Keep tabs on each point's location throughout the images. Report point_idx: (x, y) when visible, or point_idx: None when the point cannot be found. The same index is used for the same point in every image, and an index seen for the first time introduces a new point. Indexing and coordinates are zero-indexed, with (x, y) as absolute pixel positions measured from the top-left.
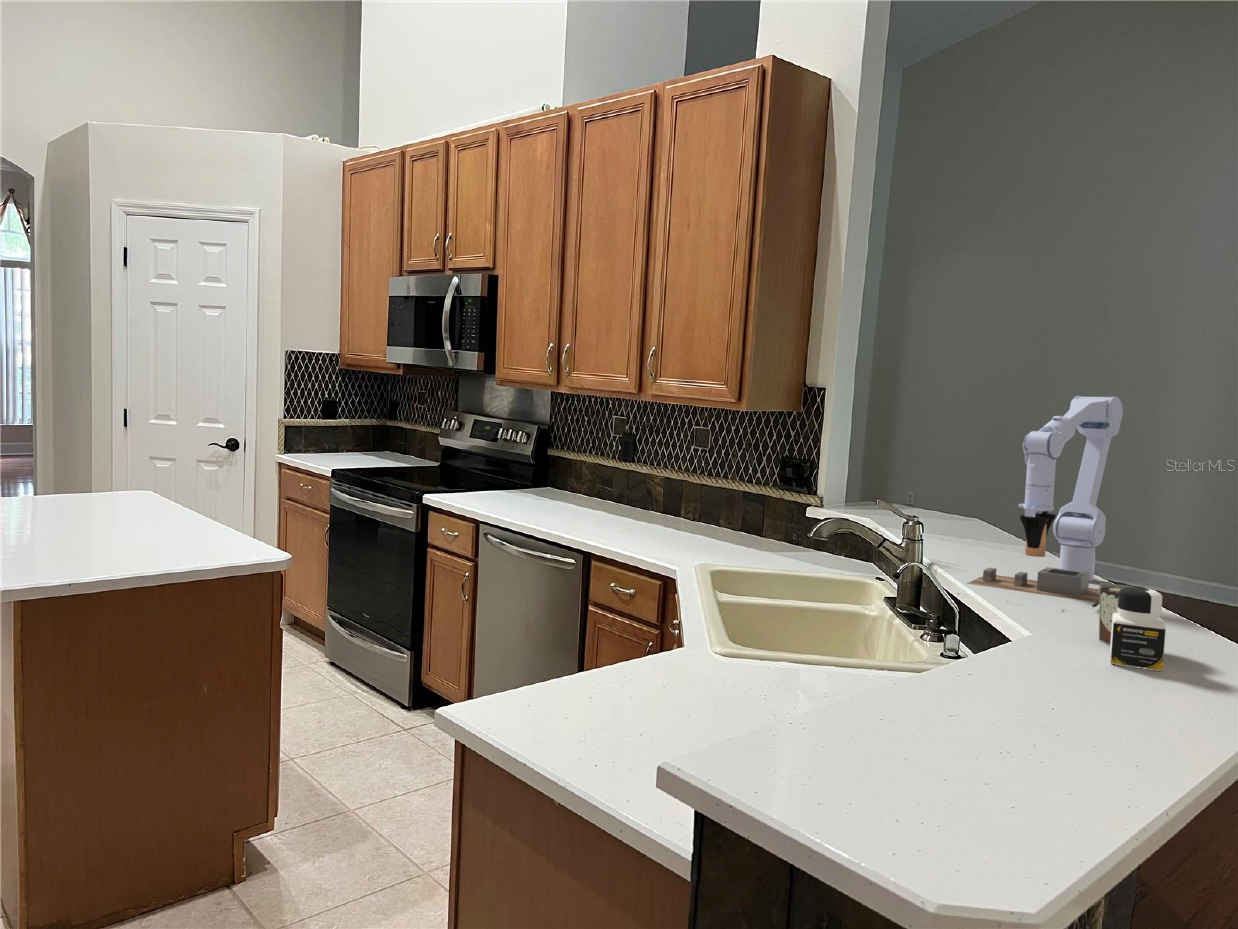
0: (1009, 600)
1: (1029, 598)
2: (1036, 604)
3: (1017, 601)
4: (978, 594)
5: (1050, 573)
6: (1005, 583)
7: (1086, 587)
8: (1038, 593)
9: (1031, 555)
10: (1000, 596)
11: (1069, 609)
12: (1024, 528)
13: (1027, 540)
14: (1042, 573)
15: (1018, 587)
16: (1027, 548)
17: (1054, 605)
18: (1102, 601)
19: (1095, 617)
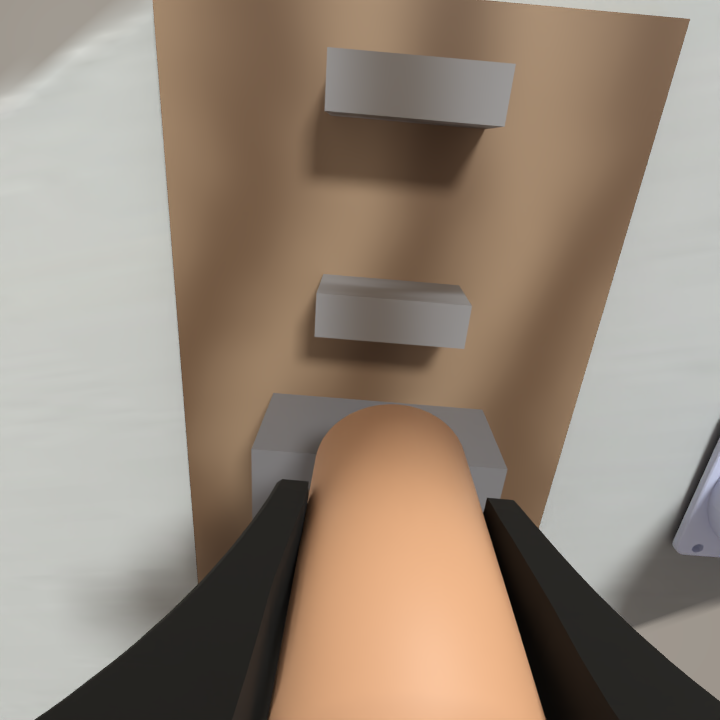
0: (13, 296)
1: (157, 367)
2: (41, 410)
3: (27, 332)
4: (14, 112)
5: (260, 508)
6: (357, 217)
7: None
8: (187, 410)
9: (316, 458)
10: (76, 238)
11: (65, 519)
12: (156, 625)
13: (255, 522)
14: (252, 469)
15: (279, 304)
16: (333, 458)
17: (92, 469)
18: None
19: (6, 591)
